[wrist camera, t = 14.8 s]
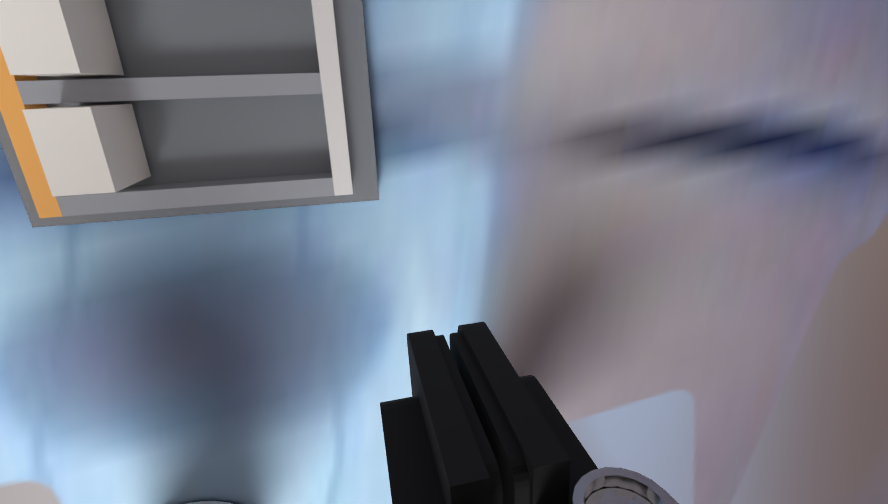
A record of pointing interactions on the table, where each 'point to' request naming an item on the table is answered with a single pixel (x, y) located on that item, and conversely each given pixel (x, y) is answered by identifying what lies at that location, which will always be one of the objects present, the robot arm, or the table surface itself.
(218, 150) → the switch board
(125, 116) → the tab
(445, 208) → the table surface
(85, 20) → the tab
